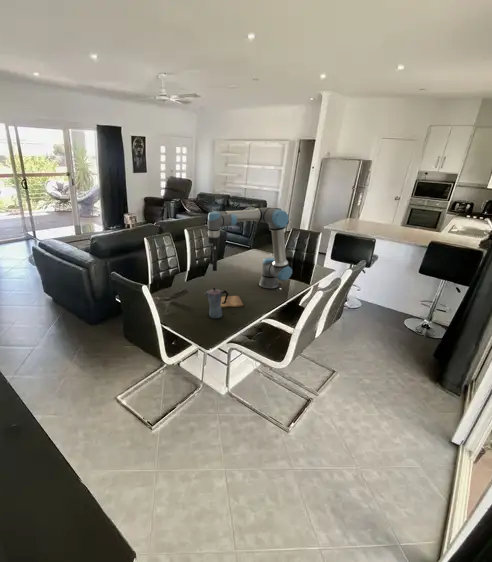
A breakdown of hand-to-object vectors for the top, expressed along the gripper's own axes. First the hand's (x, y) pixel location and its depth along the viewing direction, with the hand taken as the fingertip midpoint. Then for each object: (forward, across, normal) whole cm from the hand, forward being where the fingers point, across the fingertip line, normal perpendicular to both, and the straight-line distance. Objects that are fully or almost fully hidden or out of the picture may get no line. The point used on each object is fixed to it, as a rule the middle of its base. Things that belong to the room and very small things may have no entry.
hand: (213, 267), depth 216 cm
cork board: (+29, -5, +12) cm, 32 cm away
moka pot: (+29, +14, 0) cm, 33 cm away
